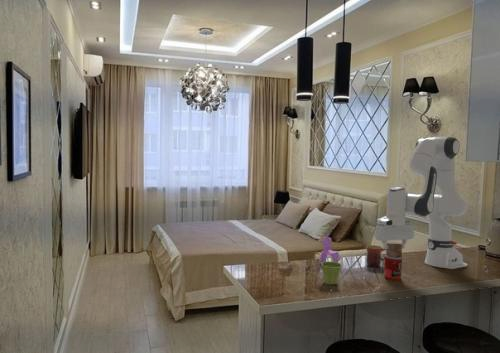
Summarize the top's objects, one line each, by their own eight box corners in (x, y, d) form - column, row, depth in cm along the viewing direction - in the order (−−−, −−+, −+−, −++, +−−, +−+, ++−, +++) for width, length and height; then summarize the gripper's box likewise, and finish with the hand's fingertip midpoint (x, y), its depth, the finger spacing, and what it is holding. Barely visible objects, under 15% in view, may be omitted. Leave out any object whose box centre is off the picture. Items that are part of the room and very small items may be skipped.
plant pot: (337, 287, 174) (337, 268, 173) (317, 283, 179) (317, 264, 178) (343, 282, 182) (344, 263, 181) (324, 278, 187) (325, 260, 186)
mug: (366, 267, 207) (367, 248, 207) (363, 263, 216) (364, 244, 215) (389, 268, 206) (390, 249, 206) (385, 264, 215) (386, 245, 214)
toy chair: (330, 268, 204) (331, 239, 203) (317, 264, 211) (318, 237, 210) (340, 265, 210) (341, 238, 209) (327, 262, 216) (328, 235, 215)
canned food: (393, 281, 185) (394, 258, 184) (380, 276, 192) (381, 254, 192) (404, 279, 189) (405, 256, 188) (391, 274, 196) (392, 253, 195)
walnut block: (394, 254, 193) (395, 242, 193) (401, 256, 188) (402, 244, 188) (386, 254, 191) (386, 242, 191) (392, 257, 187) (393, 244, 186)
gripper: (408, 219, 195) (407, 246, 196) (373, 219, 189) (372, 248, 190) (417, 221, 189) (416, 249, 190) (381, 222, 183) (380, 251, 184)
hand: (394, 248), depth 190 cm, fingers open, 8 cm apart
